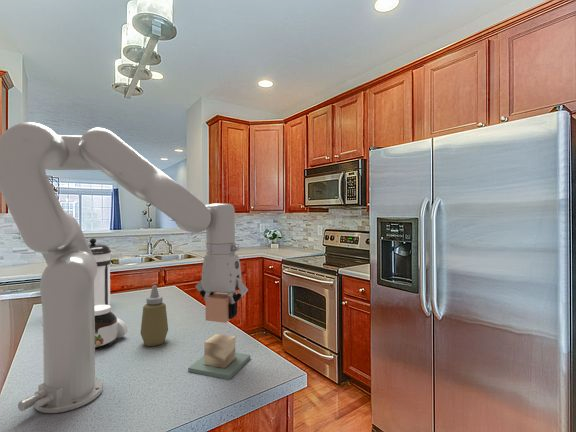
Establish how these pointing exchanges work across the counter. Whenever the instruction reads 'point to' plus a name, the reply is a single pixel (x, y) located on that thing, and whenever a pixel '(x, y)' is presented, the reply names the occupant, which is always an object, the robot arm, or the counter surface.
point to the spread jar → (107, 326)
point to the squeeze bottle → (154, 320)
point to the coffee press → (101, 273)
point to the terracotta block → (217, 307)
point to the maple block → (219, 350)
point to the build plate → (218, 371)
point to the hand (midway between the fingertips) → (221, 315)
